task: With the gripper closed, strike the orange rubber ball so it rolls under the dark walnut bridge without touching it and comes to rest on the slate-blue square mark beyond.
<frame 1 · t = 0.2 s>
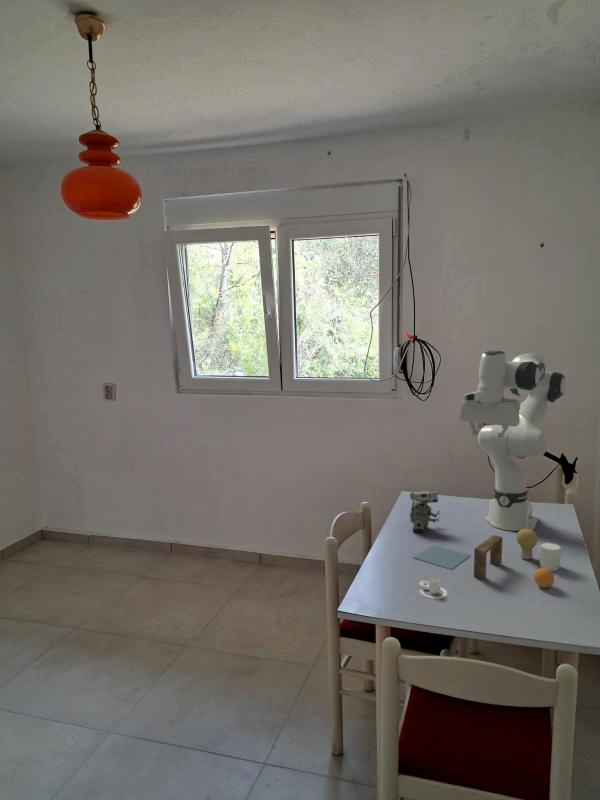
hand: (487, 436, 188), 39 cm above the table, tool pointing down, fingers open, 8 cm apart
light bulb: (526, 558, 180), on the table
white cylinder: (549, 567, 174), on the table
mug and donut ornament: (436, 589, 161), on the table
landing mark: (441, 556, 182), on the table
bridge: (488, 570, 172), on the table
ball: (544, 577, 160), on the table
figurine: (424, 529, 208), on the table
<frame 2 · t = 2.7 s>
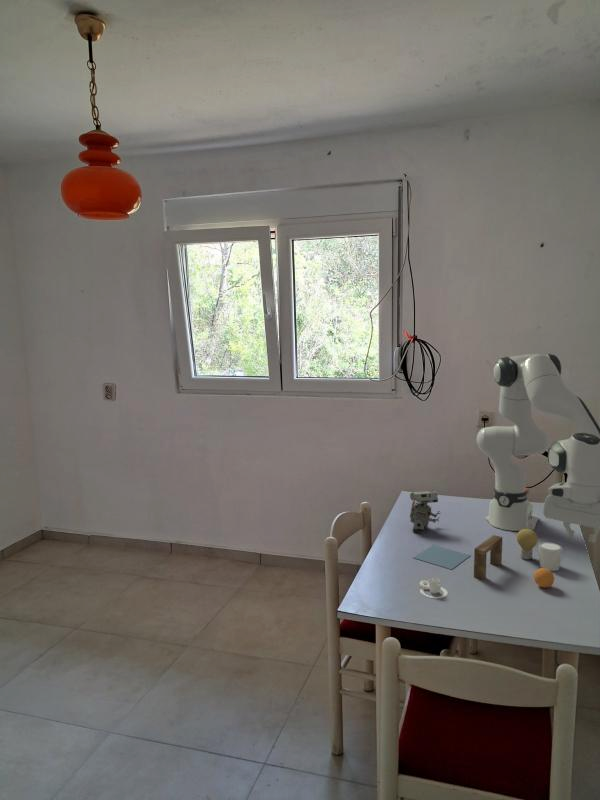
hand: (581, 539, 152), 17 cm above the table, tool pointing down, fingers open, 4 cm apart
nothing on the table moved.
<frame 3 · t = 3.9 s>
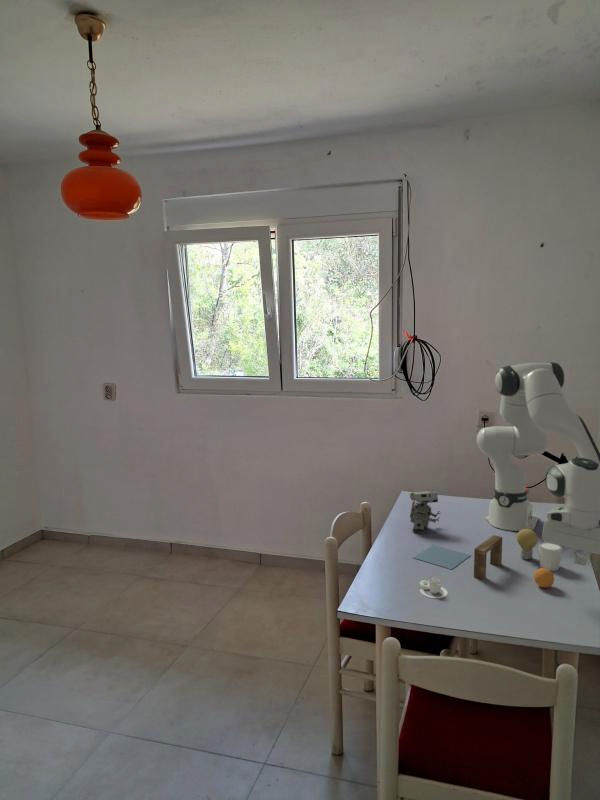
hand: (580, 564, 153), 10 cm above the table, tool pointing down, fingers closed
nothing on the table moved.
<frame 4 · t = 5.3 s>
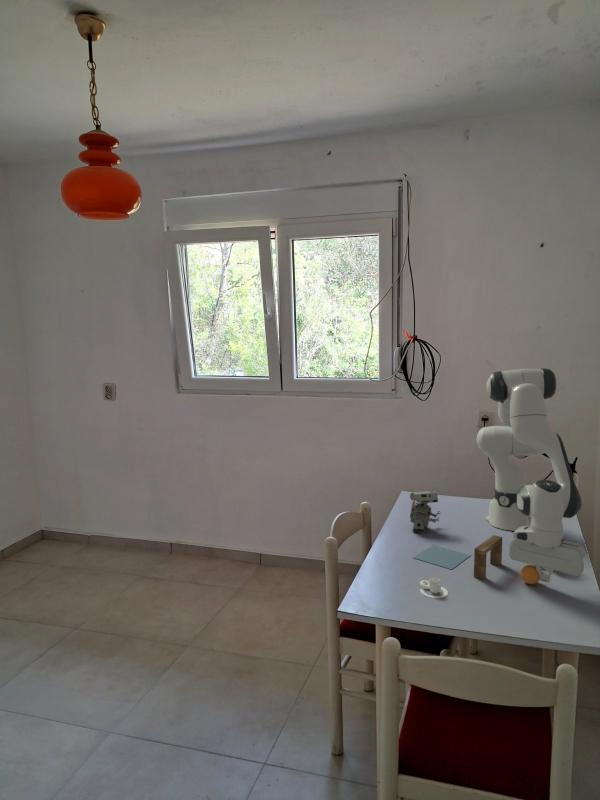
hand: (544, 580, 160), 2 cm above the table, tool pointing down, fingers closed
ball: (530, 574, 162), on the table, touching gripper
everything else where it was.
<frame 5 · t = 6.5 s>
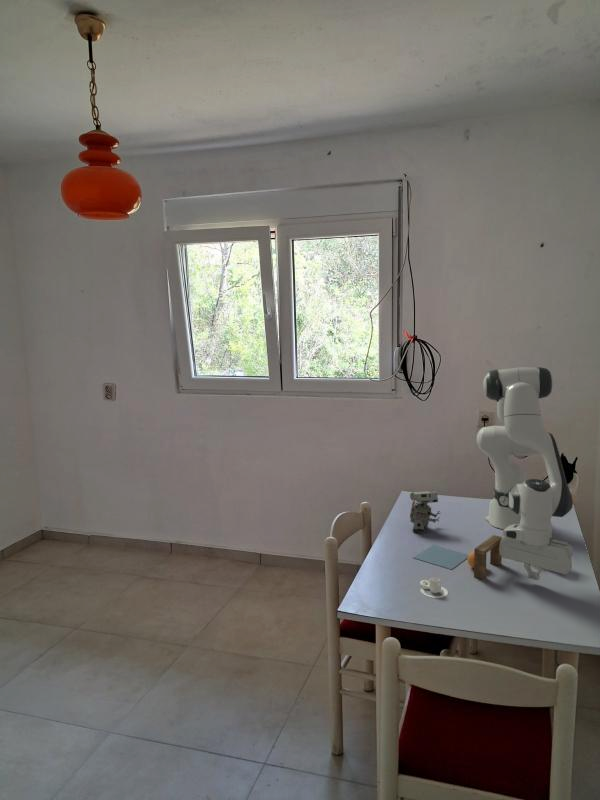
hand: (533, 578, 162), 2 cm above the table, tool pointing down, fingers closed
ball: (476, 559, 173), on the table
everything else where it was.
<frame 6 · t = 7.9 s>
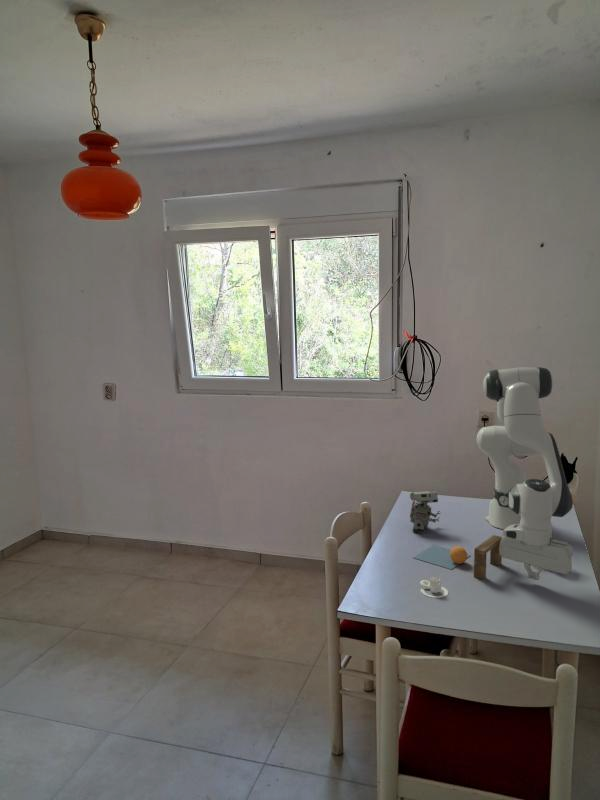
hand: (533, 578, 162), 2 cm above the table, tool pointing down, fingers closed
ball: (458, 555, 177), on the table
everything else where it was.
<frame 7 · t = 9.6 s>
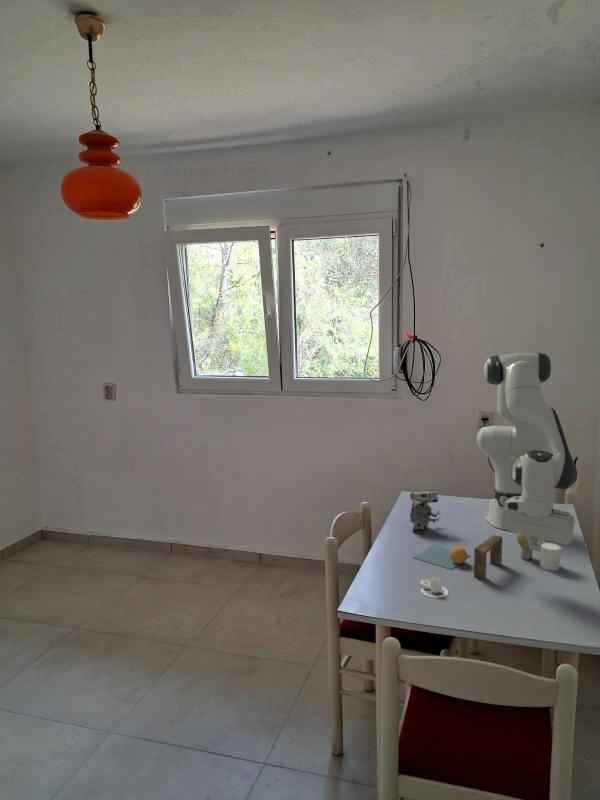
hand: (535, 549, 162), 10 cm above the table, tool pointing down, fingers closed
nothing on the table moved.
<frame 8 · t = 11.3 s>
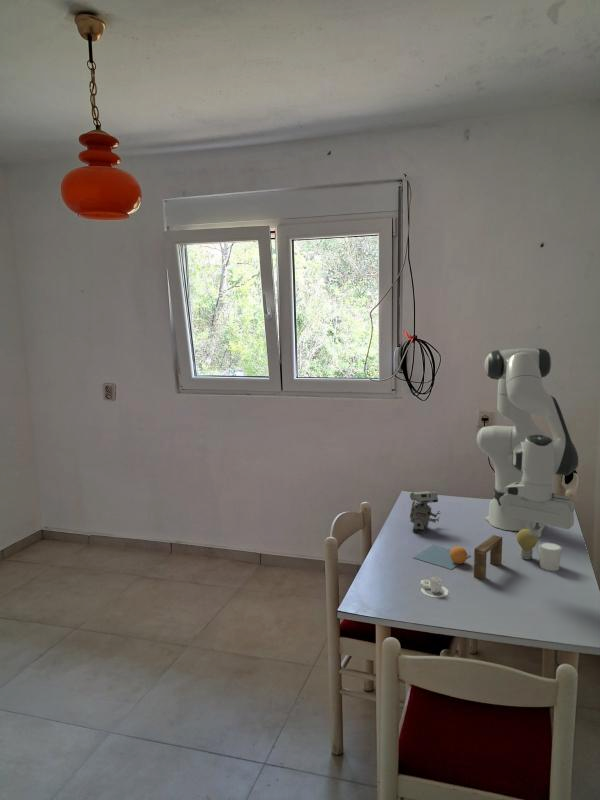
hand: (535, 535, 160), 15 cm above the table, tool pointing down, fingers closed
nothing on the table moved.
at the end: ball 6.4 cm from the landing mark (horizontally); ball never touched bridge; ball at rest at the end (0.0 cm/s) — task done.
